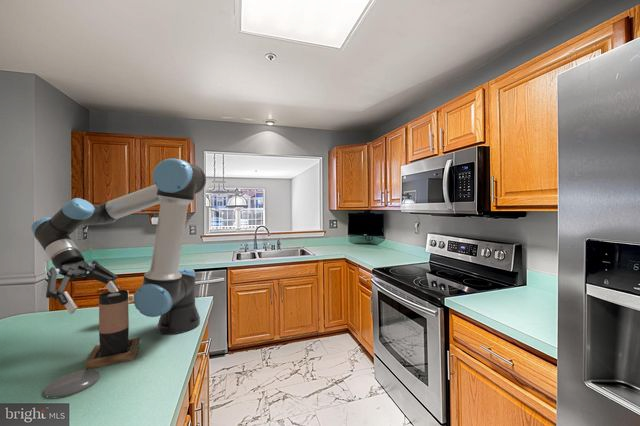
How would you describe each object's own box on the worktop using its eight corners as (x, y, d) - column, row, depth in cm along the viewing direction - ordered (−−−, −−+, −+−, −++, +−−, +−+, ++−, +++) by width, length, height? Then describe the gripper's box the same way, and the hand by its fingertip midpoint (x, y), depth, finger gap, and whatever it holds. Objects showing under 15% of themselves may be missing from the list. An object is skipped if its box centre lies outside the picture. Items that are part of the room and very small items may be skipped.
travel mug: (113, 362, 84) (112, 297, 84) (92, 360, 86) (92, 296, 86) (134, 350, 92) (134, 290, 91) (115, 348, 93) (115, 289, 93)
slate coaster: (103, 368, 81) (103, 365, 81) (94, 389, 72) (94, 386, 72) (53, 379, 76) (53, 376, 76) (36, 403, 67) (36, 400, 66)
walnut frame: (138, 342, 97) (138, 337, 97) (134, 359, 86) (134, 352, 86) (95, 351, 91) (95, 345, 91) (85, 369, 81) (85, 362, 81)
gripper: (98, 257, 107) (128, 299, 103) (10, 270, 83) (44, 326, 79) (108, 243, 105) (138, 286, 101) (22, 253, 81) (57, 309, 77)
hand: (97, 303), depth 90 cm, fingers open, 13 cm apart
